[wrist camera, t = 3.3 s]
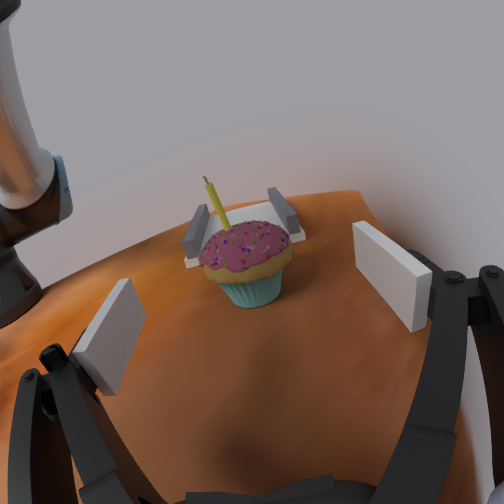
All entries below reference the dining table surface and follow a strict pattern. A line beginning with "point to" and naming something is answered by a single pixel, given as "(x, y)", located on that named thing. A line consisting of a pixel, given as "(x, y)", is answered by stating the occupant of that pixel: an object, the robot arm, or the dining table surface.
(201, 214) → the rail board
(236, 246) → the cupcake
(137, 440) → the dining table surface
